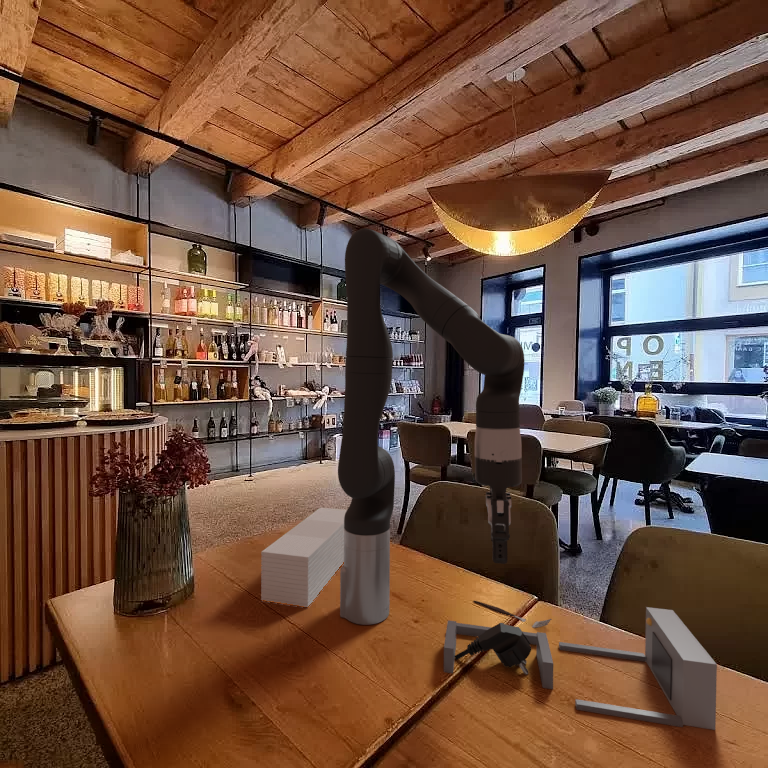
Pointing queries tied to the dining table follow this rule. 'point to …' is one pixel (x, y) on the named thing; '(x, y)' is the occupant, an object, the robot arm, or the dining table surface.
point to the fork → (536, 624)
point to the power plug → (502, 645)
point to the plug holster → (474, 630)
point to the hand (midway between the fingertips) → (498, 551)
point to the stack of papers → (304, 558)
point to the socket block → (666, 673)
